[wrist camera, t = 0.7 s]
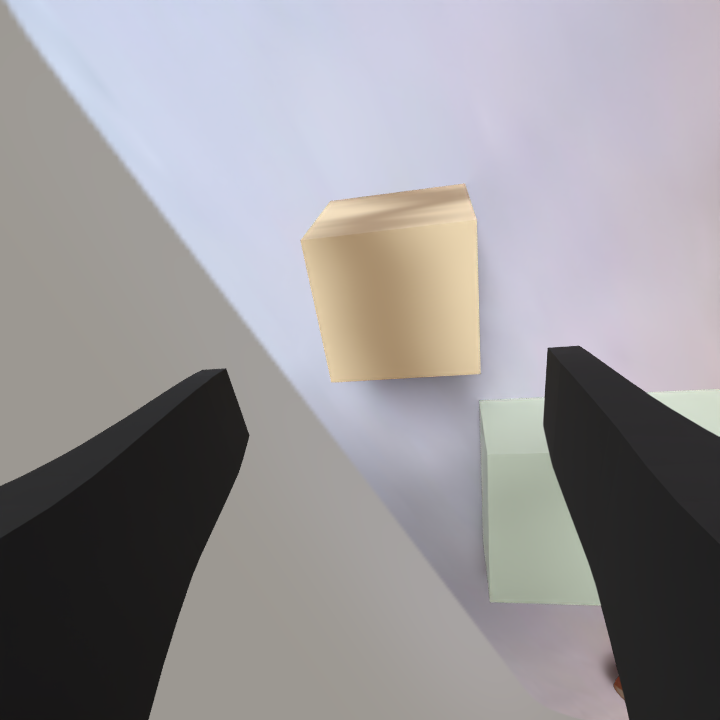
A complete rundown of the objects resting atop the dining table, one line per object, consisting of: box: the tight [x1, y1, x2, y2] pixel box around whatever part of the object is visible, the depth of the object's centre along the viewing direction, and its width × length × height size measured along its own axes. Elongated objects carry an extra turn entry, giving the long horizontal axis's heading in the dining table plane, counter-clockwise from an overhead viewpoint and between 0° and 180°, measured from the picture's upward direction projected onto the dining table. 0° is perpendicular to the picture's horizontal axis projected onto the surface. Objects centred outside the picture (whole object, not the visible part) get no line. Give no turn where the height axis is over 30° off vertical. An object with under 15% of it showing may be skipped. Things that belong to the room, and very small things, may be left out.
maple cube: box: [301, 184, 480, 382], centre depth 17 cm, size 5×5×5 cm
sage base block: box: [479, 389, 720, 606], centre depth 22 cm, size 10×10×4 cm
